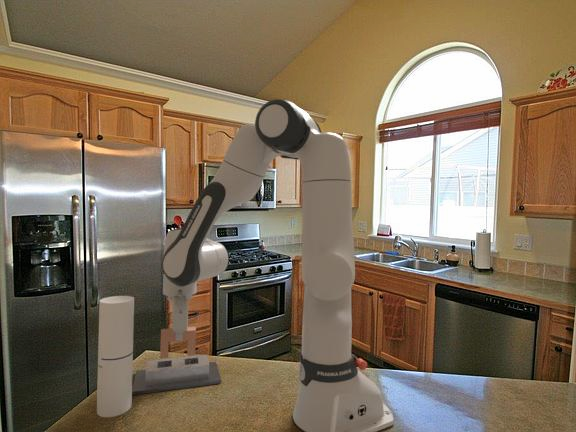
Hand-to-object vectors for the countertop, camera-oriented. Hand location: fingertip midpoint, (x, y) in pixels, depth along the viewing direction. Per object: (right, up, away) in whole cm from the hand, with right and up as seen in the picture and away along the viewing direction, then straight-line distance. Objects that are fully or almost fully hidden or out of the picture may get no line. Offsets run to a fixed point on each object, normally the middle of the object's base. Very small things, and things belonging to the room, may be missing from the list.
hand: (178, 337), depth 93 cm
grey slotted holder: (0, -11, 0) cm, 11 cm away
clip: (0, -5, 0) cm, 5 cm away
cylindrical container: (-10, -11, -15) cm, 21 cm away
